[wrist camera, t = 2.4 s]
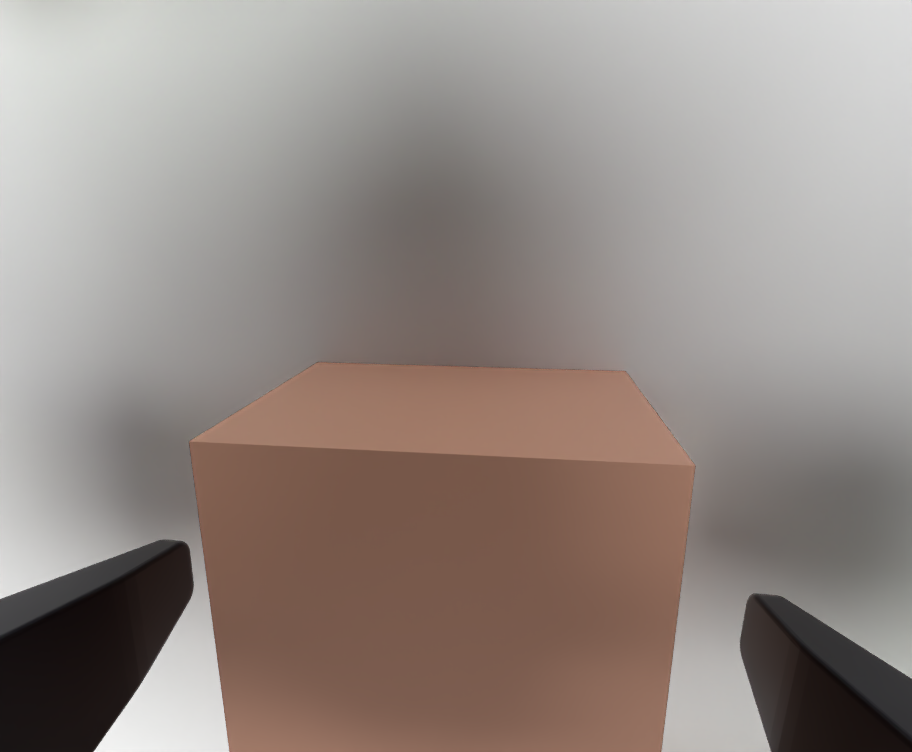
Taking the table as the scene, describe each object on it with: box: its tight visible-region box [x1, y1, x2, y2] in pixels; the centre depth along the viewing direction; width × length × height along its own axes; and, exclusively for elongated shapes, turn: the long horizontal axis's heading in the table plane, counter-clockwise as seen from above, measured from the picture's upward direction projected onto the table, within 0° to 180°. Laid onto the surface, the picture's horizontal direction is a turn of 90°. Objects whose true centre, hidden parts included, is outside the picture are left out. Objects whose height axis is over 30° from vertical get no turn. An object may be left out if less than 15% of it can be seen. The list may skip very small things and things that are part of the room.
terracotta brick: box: [189, 362, 695, 752], centre depth 9 cm, size 6×6×4 cm
